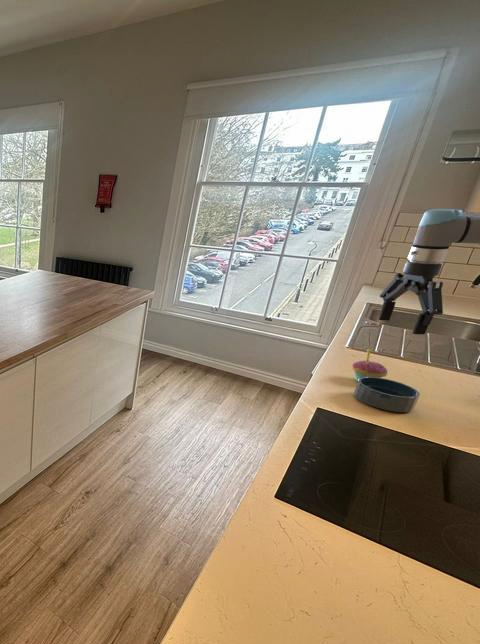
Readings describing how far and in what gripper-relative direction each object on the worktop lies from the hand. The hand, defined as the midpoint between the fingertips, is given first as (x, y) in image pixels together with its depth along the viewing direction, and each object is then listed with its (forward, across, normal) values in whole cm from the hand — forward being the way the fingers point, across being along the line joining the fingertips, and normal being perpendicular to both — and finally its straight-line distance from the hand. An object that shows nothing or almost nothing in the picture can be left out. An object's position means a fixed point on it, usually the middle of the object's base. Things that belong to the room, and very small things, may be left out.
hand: (400, 326), depth 130 cm
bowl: (+19, +17, -11) cm, 28 cm away
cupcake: (+20, +2, -6) cm, 20 cm away
